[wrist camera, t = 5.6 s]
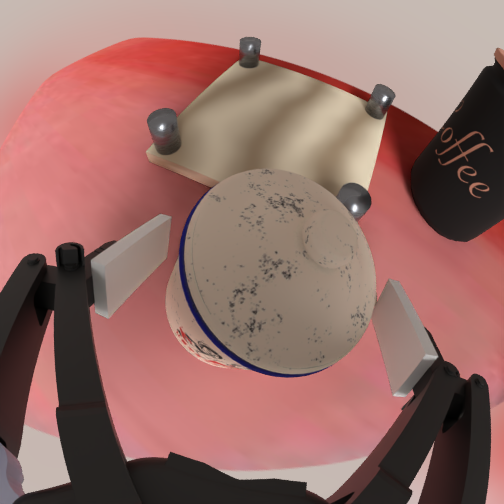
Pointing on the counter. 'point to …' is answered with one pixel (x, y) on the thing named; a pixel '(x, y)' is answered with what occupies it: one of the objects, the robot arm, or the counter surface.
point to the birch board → (275, 130)
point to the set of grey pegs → (165, 119)
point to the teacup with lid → (271, 276)
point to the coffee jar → (466, 163)
